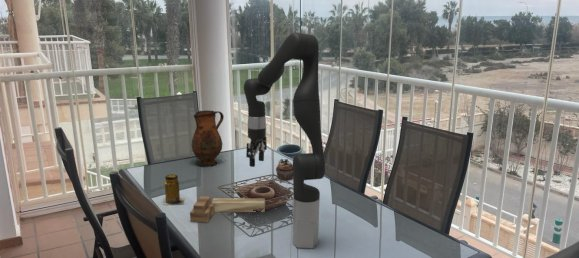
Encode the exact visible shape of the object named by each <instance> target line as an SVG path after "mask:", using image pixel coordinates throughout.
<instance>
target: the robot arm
mask: <svg viewBox="0 0 579 258" xmlns="http://www.w3.org/2000/svg"><path fill="white" fill-rule="evenodd" d="M319 47H320V46H319V40H318V39H317V37H316V36H315V35H313V34H310V33H303V32H292V33H290V34H289V35H288V36H287V37H286V38H285V40H284V41H283V42H282V44H281V45H280V47H279V49H278V50H277V51H276V53H275V54H274V56H273V57H272V59H271V60H270V61H269V62H268V64H266V65H265V66H264V67H263V68H262V69H261V70H260V72H258V75H257V78H248V79H246V80H245V81H244V84H243V92H244V95H245V99H246V103H247V110H248V111H247V112H248V113H247V138H248V139H250V142H246V151H245V152H246V158H248V160H249V167H252V168H255V167H256V155H258V161H259V162H264V160H265V152H266V151H267V148H268V146H267V144H268V143H267V141H268V140H267V122H266V121H267V118H266V103H265V102H264V101H262V100H258V99H257V96H263V95H266V94H268V93H269V92H270V91H271V89H272V87H273V86H274V84H275V83H277V81H278V80H279V79H281V78H282V76H283V75H284V72H285V64H286V63H287V62H289V61H291V60H298V61H302V77H301V79H300V82H299V84H298V85H297V87H296V89H295V92H294V94H293V100H292V102H293V103H292V104H293V115H294V118H295V120H296V122H297V124H298V126H299V127H300V128H301V130H302V131H303V132H304V133H305V135H306V136H307V139H308V141H309V143H310V146H311V150H312V152H306V153H304V152H303V153H296V154H295V155H294V156H293V159H292V165H293V179H292V181H293V182H292V183H293V184H292V186H293V188H292V189H293V190H292V191H293V192H292V193H293V202H292V203H293V205H292V206H293V209H292V216H293V217H292V244H293V245H295V248H299V249H314V248H315V247H317V246H318V245H319V233H320V232H319V230H320V229H319V228H320V227H319V226H320V225H319V224H320V223H319V222H320V200H321V199H320V190H319V189H318V187H315V186H313V185H309V184H306V183H305V181H311V180H315V181H316V180H322V179H324V177H325V175H326V162H325V154H324V153H325V152H324V147H323V139H322V138H323V137H322V124H321V123H322V122H321V102H320V101H321V99H320V91H319V89H320V87H319V57H320V56H319V54H320V53H319V52H320V49H319Z"/></svg>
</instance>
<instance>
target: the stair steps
mask: <svg viewBox="0 0 579 258" xmlns="http://www.w3.org/2000/svg"><path fill="white" fill-rule="evenodd" d="M211 200H212V199H211V196H210V195H209V196H207V195H201V196H200V197H199V198H198V199H197V200H196V202H195V203H194V204H193V205H192V206H193V208H192V209H191V210H190V212H189V215H190V216H189V217H190V218H189V220H190V223H205V224H207V223H209V222H210V220H211V219H212V217H213V215H214V214H215V212H214V203H212V202H211Z"/></svg>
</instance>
